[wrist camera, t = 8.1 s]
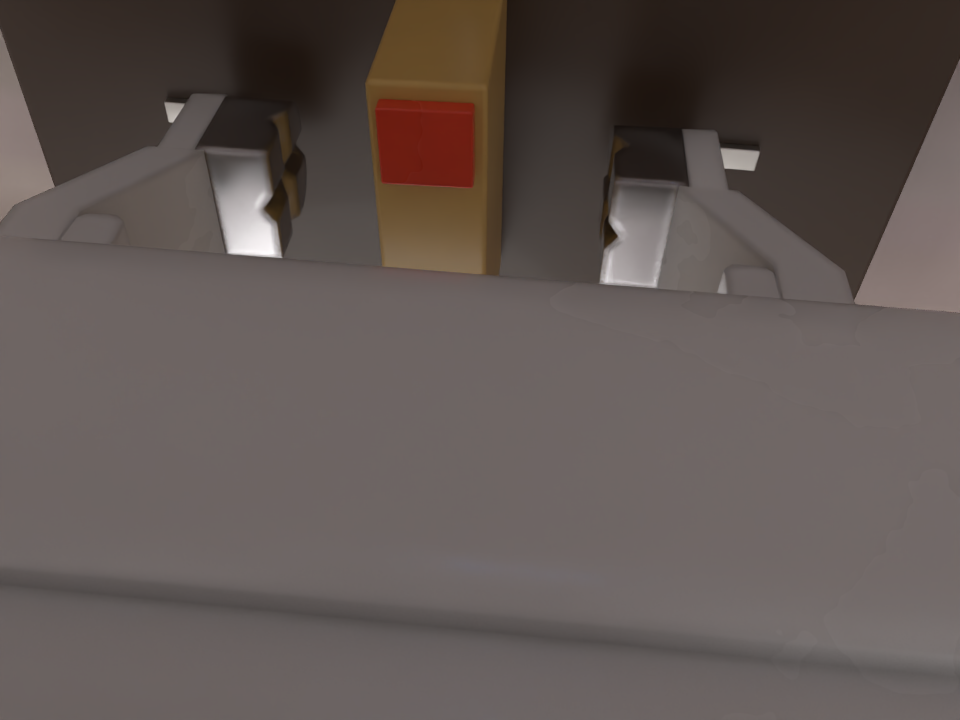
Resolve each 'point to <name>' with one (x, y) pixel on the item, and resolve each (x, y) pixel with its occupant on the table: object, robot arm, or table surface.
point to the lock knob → (439, 134)
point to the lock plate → (524, 103)
